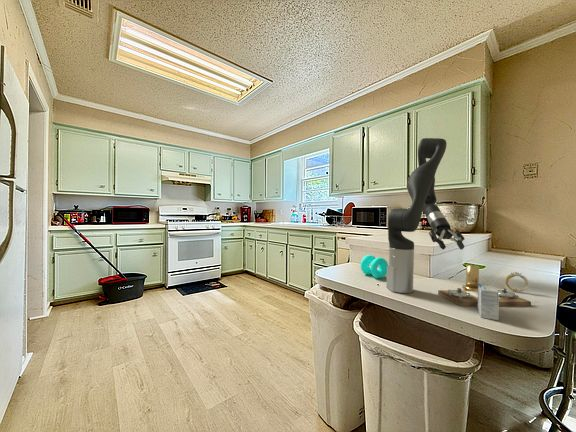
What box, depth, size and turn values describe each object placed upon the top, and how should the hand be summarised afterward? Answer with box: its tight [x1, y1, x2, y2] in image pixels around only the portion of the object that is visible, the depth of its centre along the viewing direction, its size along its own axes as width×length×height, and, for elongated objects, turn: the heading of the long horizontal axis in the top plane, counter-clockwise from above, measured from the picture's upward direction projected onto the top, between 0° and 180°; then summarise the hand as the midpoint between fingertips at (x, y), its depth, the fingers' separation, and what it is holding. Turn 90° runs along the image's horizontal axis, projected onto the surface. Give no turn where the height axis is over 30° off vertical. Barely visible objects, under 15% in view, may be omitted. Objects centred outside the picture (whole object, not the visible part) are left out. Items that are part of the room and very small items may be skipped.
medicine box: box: [477, 283, 500, 321], centre depth 78 cm, size 8×4×9 cm, turn 148°
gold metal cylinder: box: [462, 264, 480, 290], centre depth 103 cm, size 7×6×10 cm
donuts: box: [360, 254, 389, 279], centre depth 123 cm, size 10×10×10 cm
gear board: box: [437, 289, 532, 307], centre depth 92 cm, size 25×12×2 cm, turn 92°
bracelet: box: [504, 271, 530, 293], centre depth 101 cm, size 7×3×8 cm, turn 56°
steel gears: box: [448, 287, 519, 299], centre depth 92 cm, size 24×7×3 cm, turn 92°
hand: (453, 248), depth 114 cm, fingers open, 8 cm apart
